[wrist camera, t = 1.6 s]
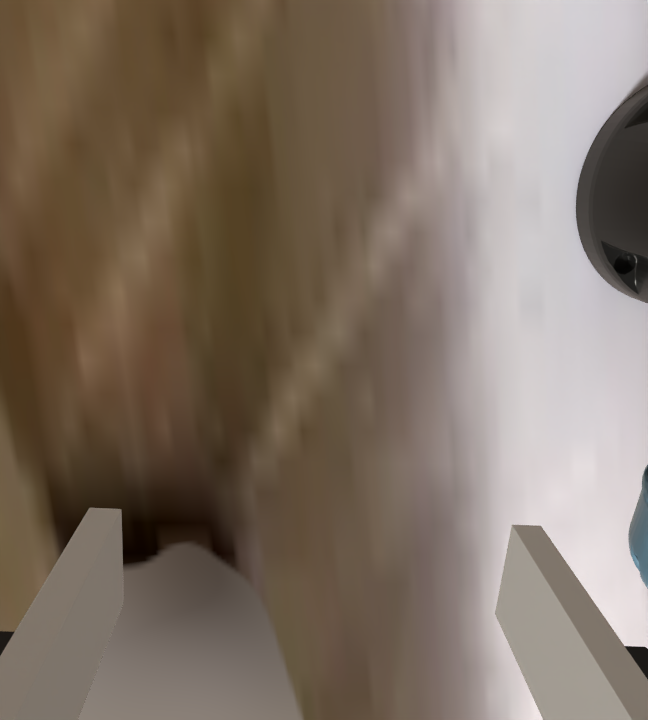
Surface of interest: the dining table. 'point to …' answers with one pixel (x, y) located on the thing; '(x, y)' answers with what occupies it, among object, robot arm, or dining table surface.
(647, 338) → the dining table surface
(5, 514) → the dining table surface
